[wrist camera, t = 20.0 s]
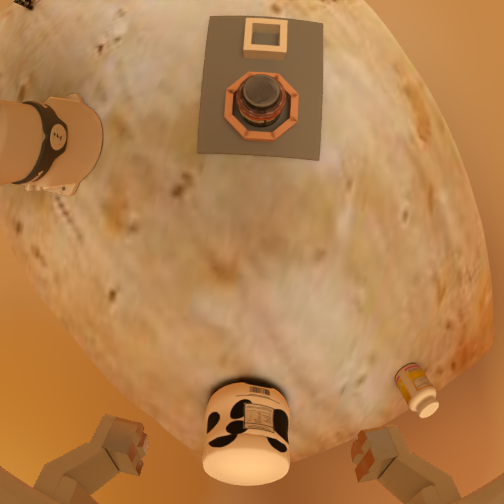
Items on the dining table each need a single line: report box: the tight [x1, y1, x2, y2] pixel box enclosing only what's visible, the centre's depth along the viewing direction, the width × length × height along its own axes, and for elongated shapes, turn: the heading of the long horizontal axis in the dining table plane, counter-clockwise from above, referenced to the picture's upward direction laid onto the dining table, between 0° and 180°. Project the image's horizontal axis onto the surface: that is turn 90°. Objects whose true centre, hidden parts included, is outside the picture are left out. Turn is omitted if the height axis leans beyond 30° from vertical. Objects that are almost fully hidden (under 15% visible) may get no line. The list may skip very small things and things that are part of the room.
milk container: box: [203, 382, 290, 486], centre depth 46 cm, size 17×17×18 cm
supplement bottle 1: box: [236, 74, 286, 128], centre depth 32 cm, size 6×6×11 cm
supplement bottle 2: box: [395, 364, 439, 418], centre depth 47 cm, size 7×7×13 cm
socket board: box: [197, 16, 323, 160], centre depth 35 cm, size 24×18×4 cm
